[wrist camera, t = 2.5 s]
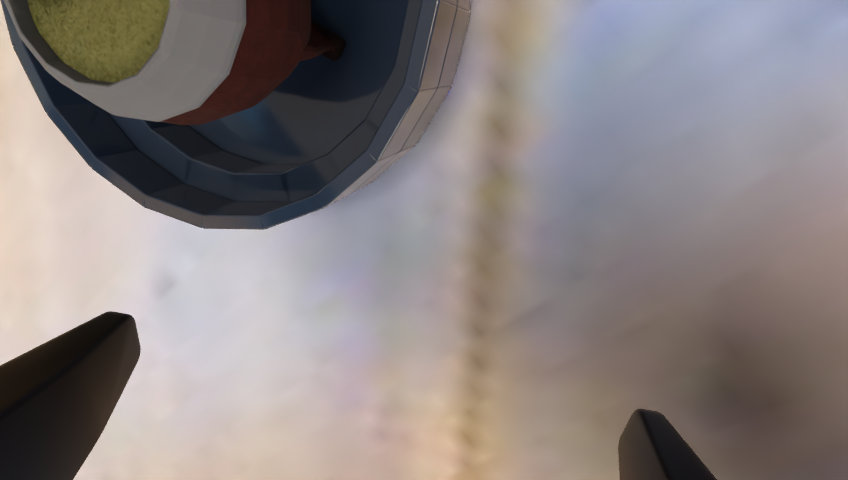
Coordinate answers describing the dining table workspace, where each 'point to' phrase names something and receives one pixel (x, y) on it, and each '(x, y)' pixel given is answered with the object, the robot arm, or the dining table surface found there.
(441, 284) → the dining table surface
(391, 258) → the dining table surface
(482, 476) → the dining table surface
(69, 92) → the large metal bowl
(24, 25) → the mate gourd
